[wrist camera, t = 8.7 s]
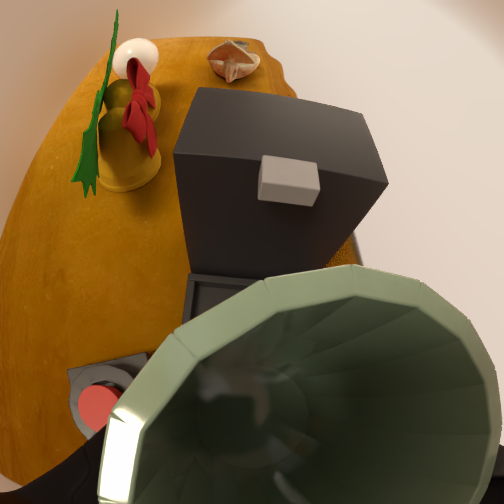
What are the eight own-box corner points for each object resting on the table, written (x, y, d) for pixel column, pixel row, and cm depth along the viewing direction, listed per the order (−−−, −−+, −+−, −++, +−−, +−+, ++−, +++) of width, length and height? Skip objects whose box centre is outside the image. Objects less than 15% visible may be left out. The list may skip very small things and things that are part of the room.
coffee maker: (308, 408, 19) (428, 421, 7) (177, 402, 18) (113, 428, 6) (305, 230, 27) (364, 111, 14) (199, 218, 26) (196, 84, 14)
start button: (137, 426, 14) (129, 430, 13) (96, 432, 13) (86, 435, 12) (122, 381, 15) (114, 380, 14) (83, 389, 15) (72, 388, 13)
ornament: (160, 230, 30) (197, 171, 17) (88, 235, 26) (68, 174, 13) (158, 92, 33) (189, 10, 20) (101, 91, 29) (113, 4, 16)
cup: (300, 476, 11) (447, 575, 1) (177, 459, 11) (95, 594, 1) (321, 367, 15) (503, 300, 4) (202, 345, 14) (166, 220, 4)
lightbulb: (133, 92, 35) (126, 33, 26) (168, 95, 36) (166, 31, 26) (112, 114, 32) (99, 50, 23) (149, 117, 33) (142, 47, 23)
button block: (180, 437, 17) (172, 447, 14) (102, 450, 15) (82, 459, 12) (152, 355, 20) (138, 348, 16) (78, 371, 18) (54, 366, 14)
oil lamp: (194, 97, 36) (196, 38, 27) (218, 50, 46) (222, 9, 37) (253, 103, 36) (263, 43, 28) (260, 54, 46) (267, 14, 37)
